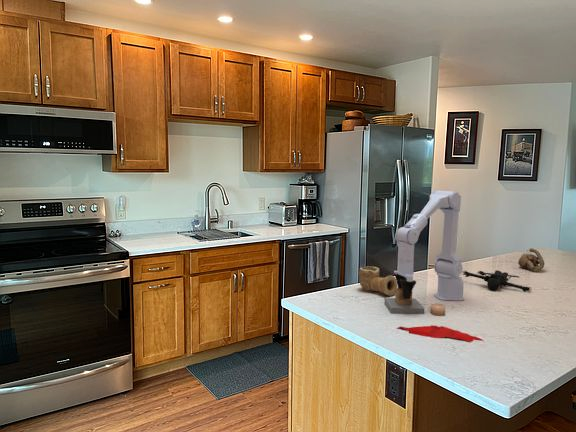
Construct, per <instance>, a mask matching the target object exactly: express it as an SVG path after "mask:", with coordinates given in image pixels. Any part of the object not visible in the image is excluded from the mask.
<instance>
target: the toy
mask: <svg viewBox="0 0 576 432" xmlns="http://www.w3.org/2000/svg"><path fill="white" fill-rule="evenodd" d="M461 275H464V277H465V278H467V277H473V278H477V279H480V280H481V279H482V280H483V281H484V282H486V283H487V284H486V286H487V289H488V290H490V291H497V290H499V289H500V287H506V286H508V287H512V288H515V289H520V290H522V291H523V292H524V293H527V292H528V293H531V292H532V290H533V289H532V288H531V287H530V286H524V285H520V284H516V283H512V282H508V280H509V279H510V278H512V277H513V278H520V276H518V275H512V274H511V275H510V274H509V273H508V272H502V271H500V270H497V269H495V271H494V273H491V272H490V273H489V272H484V271H482V270H478V272H477V273H476V274H475V273H473V272H469V271H467V270H462V273H461Z"/></svg>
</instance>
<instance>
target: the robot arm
mask: <svg viewBox="0 0 576 432" xmlns="http://www.w3.org/2000/svg"><path fill="white" fill-rule="evenodd" d="M461 201H462V196H461V195H460V193H459V192H458V191H457V190H454V191H453V190H438V189H436V190H433V191H432V193H431V194H429V201H428V202H427V204H426V205H425V206H424V207H423V209H422V210H421V211H420V213H415V214H413V215H412V217H411V218H410V220H408V222H406V224H405V225H404V226H401V227H400V228H398V229H397V231H396V232H395V234H394V238H395V240H396V246H397V265H396V266H397V269H396V270H393V273H394V274H393V276H394V277H395V279H396V281H397V288H402V290H403V297H404V299H410V296H411V293H412V294H413V289H414V287H415V285H416V284H417V280H414V274H415V273H414V265H415V264H414V261H415V260H414V259H415V245H416V243H417V242H418V240H419V236H421V235H420V234H421V232H422V231H423V230H424V228H425V227H426V226H427V225H428V220H429V218H431V216H432V215H433V214H434V213H436V212H437V211H438V210H441V213H443V214H444V215H443V216H444V217H443V218H444V219H443V228H442V229H443V230H442V242H441V243H442V244H441V252H440V253H439V254H437V255H436V257H435V261H434V264H433V269H434V272H435V273H436V275H437V290H436V291H437V292H434V293H433V294H434V296H435V297H436V298H438V300H440V301H464V288H465V287H464V286H465V285H464V279H463V277H462V276H461V275H462V274H463V272H462V271H464V270H463V268H464V267H463V265H462V264H463V263H462V259H463V258H461V257H460V256H459V255H458V253H457V252H456V251H457V241H458V240H457V239H458V227H459V213H460V210H461Z"/></svg>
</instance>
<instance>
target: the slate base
mask: <svg viewBox="0 0 576 432" xmlns="http://www.w3.org/2000/svg"><path fill="white" fill-rule="evenodd" d="M383 302H384V305H385V306H386V308H387V310H388V311H389V312H390V314H403V315H406V314H408V315H409V314H410V315H411V314H413V315H425V309H426V308H425V307H424V306H423V305H422V304H421V303H420V302H419V300H417V298H412V305H398V304H397V303H396V301H395V297H394V298H393V297H385V298H384V301H383Z"/></svg>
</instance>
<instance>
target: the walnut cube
mask: <svg viewBox="0 0 576 432" xmlns="http://www.w3.org/2000/svg"><path fill="white" fill-rule="evenodd" d="M394 295H395V297H394V298H395V301H396V303H397V304H398V305H412V299H413V292H412V293H411V296H410V299H404V297H403V290H402V288H398V287H397V288H396V293H395V294H394Z"/></svg>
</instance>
